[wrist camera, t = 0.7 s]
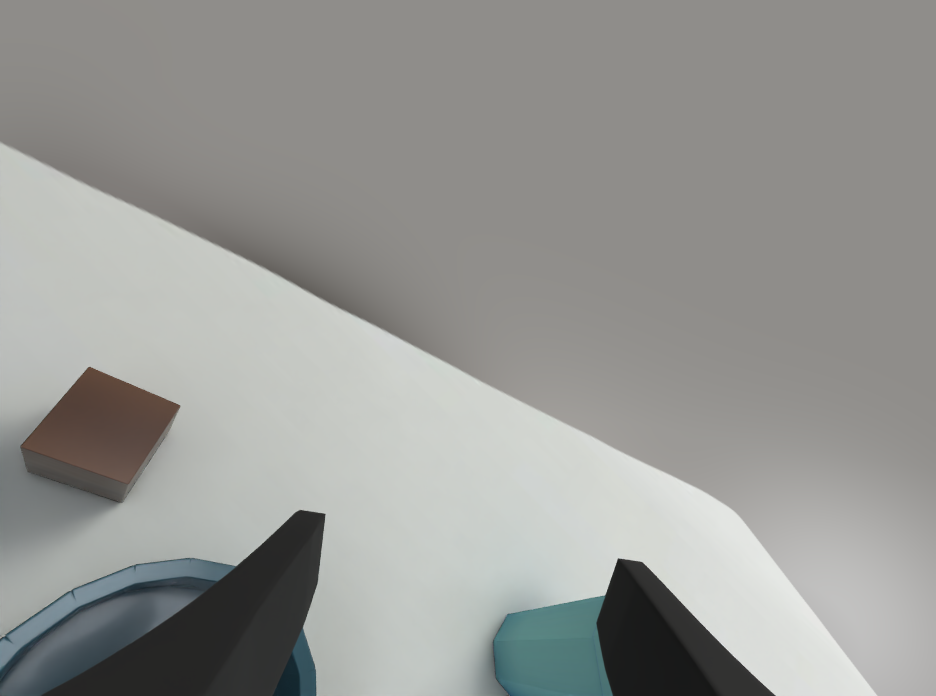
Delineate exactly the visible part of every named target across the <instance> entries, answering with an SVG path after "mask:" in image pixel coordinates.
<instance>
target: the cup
mask: <svg viewBox="0 0 936 696" xmlns="http://www.w3.org/2000/svg"><path fill="white" fill-rule="evenodd" d="M605 596H606V595H605ZM605 596H600V597H595V598H589V599H584V600H579V601H574V602H569V603H564V604H559V605H553V606H548V607H543V608H538V609H533V610H528V611H522V612H517V613H512V614H508V615H507V616H506V618H505V620H504V622H503V624H502V626H501V628H500V629H499V631H498V633H497V635H496V637H495V639H494V641H493V644H494V658H495V671H496V679H497V680H498V682H499V683H500V684H501V685H502V686H503V688H504V689H505V690H506V691H507V693H508V694H509V695H510V696H613V694H612V691H611V688H610V685H609V681H608V678H607V675H606V671H605V667H604V662H603V657H602V653H601V648H600V642H599V636H598V630H597V625H596V622H597V619H598V616H599V613H600V610H601V607H602V604H603V601H604V598H605Z"/></svg>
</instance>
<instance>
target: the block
mask: <svg viewBox="0 0 936 696" xmlns="http://www.w3.org/2000/svg"><path fill="white" fill-rule="evenodd" d="M179 408H180V405H178V404H176V403H173V402H171V401H169V400H166V399H164V398H162V397H159V396H157V395H155V394H152V393H150V392H147V391H145V390H143V389H140V388H138V387H136V386H133V385H131V384H129V383H126V382H124V381H122V380H119V379H117V378H115V377H112V376H110V375H107V374H105V373H103V372H100V371H98V370H96V369H93V368H91V367H88V368H87V370H86V371H85V372H84V373H83V374H82V375H81V376H80V378H79V379H78V380H77V381H76V382H75V383H74V385H73V386H72V387H71V388H70V389H69V390H68V392H67V393H66V394H65V395H64V396H63V397H62V399H61V400H60V401H59V402H58V403H57V404H56V406H55V407H54V408H53V409H52V410H51V411H50V413H49V414H48V415H47V416H46V417H45V418H44V420H43V421H42V422H41V423H40V424H39V425H38V427H37V428H36V429H35V430H34V431H33V432H32V434H31V435H30V436H29V437H28V438H27V439H26V441H25V442H24V443H23V444H22V445H21V451H22V454H23V457H24V461H25V464H26V467H27V471H28V472H31V473H34V474H37V475H40V476H43V477H46V478H49V479H52V480H55V481H58V482H61V483H64V484H67V485H70V486H73V487H76V488H79V489H82V490H85V491H88V492H91V493H94V494H97V495H100V496H103V497H106V498H109V499H112V500H115V501H118V502H121V503H122V502H123V501H124V499H125V498H126V496H127V495H128V493H129V491H130V490H131V488H132V487H133V485H134V484H135V482H136V481H137V479H138V478H139V476H140V475H141V473H142V472H143V470H144V469H145V467H146V465H147V464H148V462H149V461H150V459H151V458H152V456H153V455H154V453H155V452H156V450H157V449H158V447H159V446H160V444H161V442H162V441H163V439H164V438H165V436H166V435H167V433H168V432H169V430H170V428H171V426H172V423H173V421H174V419H175V417H176V415H177V413H178V410H179Z"/></svg>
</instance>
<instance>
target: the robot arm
mask: <svg viewBox="0 0 936 696" xmlns="http://www.w3.org/2000/svg"><path fill="white" fill-rule="evenodd" d="M324 522H325V514H323V513H316V512H310V511H303V510H299V511H297V512H296V513H294V514H293V515H292V516H291V517H290V518H289V519H288V520H287V521H286V522H285V523H284V524H283V525H282V526H281V527H280V528H279V529H278V530H277V531H276V532H275V533H274V534H273V535H271V536H270V537H269V538H268V539H267V540H266V541H265V542H264V543H263V544H262V545H261V546H259V547H258V548H257V549H256V550H255V551H254V552H253V553H251V554H250V555H249V556H248V557H247V558H246V559H244V560H243V561H242V562H241V563H240V564H239V565H237V566H236V567H235V568H234V569H233V570H232V571H230V572H229V573H228V574H227V575H225V576H224V577H223V578H222V579H220V580H219V581H218V582H217V583H215V584H214V585H213V586H211V587H210V588H209V589H208V590H206V591H205V592H204V593H202V594H201V595H200V596H199V597H197V598H196V599H195V600H193V601H192V602H191V603H189V604H188V605H187V606H185V607H184V608H182V609H181V610H180V611H178V612H177V613H176V614H174V615H173V616H171V617H170V618H168V619H167V620H165V621H164V622H163V623H161V624H160V625H158V626H157V627H155V628H154V629H152V630H151V631H149V632H148V633H146V634H145V635H143V636H142V637H140V638H138V639H137V640H135V641H134V642H132V643H130V644H129V645H127V646H126V647H124V648H122V649H121V650H119V651H118V652H116V653H114V654H113V655H111V656H110V657H108V658H106V659H105V660H103V661H101V662H100V663H98V664H96V665H95V666H93V667H91V668H90V669H88V670H86V671H84V672H83V673H81V674H79V675H77V676H76V677H74V678H72V679H70V680H68V681H66V682H65V683H63V684H61V685H59V686H57V687H55V688H53V689H52V690H50V691H48V692H46V693H44V694H42V695H40V696H273V693H274V691H275V689H276V687H277V684H278V682H279V680H280V678H281V675H282V673H283V671H284V669H285V667H286V664H287V662H288V660H289V658H290V655H291V653H292V651H293V649H294V646H295V644H296V642H297V640H298V637H299V635H300V633H301V630H302V628H303V625H304V622H305V620H306V617H307V614H308V611H309V608H310V605H311V602H312V598H313V595H314V592H315V589H316V586H317V583H318V574H319V566H320V557H321V548H322V540H323V531H324ZM596 625H597V630H598V636H599V642H600V648H601V653H602V657H603V662H604V667H605V671H606V675H607V678H608V681H609V685H610V688H611V691H612V694H613V696H775V695H774V694H773V693H772V692H771V691H770V690H769V689H767V688H766V687H765V686H764V685H763V684H762V683H761V682H760V681H759V680H758V679H757V678H756V677H755V676H753V675H752V674H751V673H750V672H749V671H748V670H747V669H746V668H745V667H744V666H743V665H742V664H741V663H740V662H739V661H738V660H737V659H736V658H735V657H734V656H733V655H732V654H731V653H730V652H729V651H728V650H727V649H726V648H725V647H724V646H723V645H722V644H721V643H720V642H719V641H718V640H717V639H716V638H715V637H714V636H713V635H712V634H711V633H710V632H709V631H708V630H707V629H706V628H705V627H704V626H703V625H702V624H701V623H700V622H699V621H698V620H697V619H696V618H695V617H694V616H693V615H692V614H691V612H690V611H689V610H688V609H687V608H686V607H685V606H684V605H683V604H682V603H681V602H680V601H679V600H678V599H677V598H676V597H675V595H674V594H673V593H672V592H671V591H670V590H669V589H668V588H667V587H666V586H665V585H664V584H663V583H662V582H661V581H660V580H659V579H658V578H657V576H656V575H655V574H654V573H653V572H652V571H651V570H650V569H649V568H648V567H647V566H646V565H645V564H643V563H642V562H638V561H632V560H625V559H619V558H618V560H617V563H616V566H615V569H614V572H613V575H612V578H611V581H610V584H609V587H608V590H607V593H606V596H605V598H604V601H603V604H602V607H601V610H600V613H599V616H598V619H597V622H596Z"/></svg>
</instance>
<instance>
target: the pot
mask: <svg viewBox="0 0 936 696" xmlns="http://www.w3.org/2000/svg"><path fill="white" fill-rule="evenodd" d="M235 567H236V566H232V565H227V564H221V563H216V562H211V561H205V560H200V559H195V558H191V559H190V558H185V559H177V560H168V561H160V562H152V563H144V564H136V565H135V566H130V567H127V568H125V569H122V570H120V571H117V572H115V573H112V574H110V575H107V576H105V577H102V578H100V579H97V580H95V581H92V582H90V583H87V584H85V585H82V586H80V587H77V588H75V589H73V590H72V591H69V592H67V593H66V594H64V595H63V596H61V597H60V598H58V599H57V600H55V601H54V602H53V603H51V604H50V605H48V606H47V607H45V608H44V609H42V610H41V611H39V612H38V613H37V614H35V615H34V616H32V617H31V618H29V619H28V620H26V621H25V622H23V623H22V624H20V625H19V626H18V627H16V628H15V629H13V630H12V631H10V632H9V633H7V634H6V635H5V637H3V638H1V639H0V696H40V695H42V694H44V693H46V692H48V691H50V690H52V689H53V688H55V687H57V686H59V685H61V684H63V683H65V682H66V681H68V680H70V679H72V678H74V677H76V676H77V675H79V674H81V673H83V672H84V671H86V670H88V669H90V668H91V667H93V666H95V665H96V664H98V663H100V662H101V661H103V660H105V659H106V658H108V657H110V656H111V655H113V654H114V653H116V652H118V651H119V650H121V649H122V648H124V647H126V646H127V645H129V644H130V643H132V642H134V641H135V640H137V639H138V638H140V637H142V636H143V635H145V634H146V633H148V632H149V631H151V630H152V629H154V628H155V627H157V626H158V625H160V624H161V623H163V622H164V621H165V620H167V619H168V618H170V617H171V616H173V615H174V614H176V613H177V612H178V611H180V610H181V609H182V608H184V607H185V606H187V605H188V604H189V603H191V602H192V601H193V600H195V599H196V598H197V597H199V596H200V595H201V594H202V593H204V592H205V591H206V590H208V589H209V588H210V587H211V586H213V585H214V584H215V583H217V582H218V581H219V580H220V579H222V578H223V577H224V576H225V575H227V574H228V573H229V572H230V571H232V570H233V569H234V568H235ZM273 696H316V670H315V665H314V662H313V659H312V655H311V652H310V649H309V646H308V643H307V640H306V637H305V634H304V630H303V628H302V630H301V633H300V635H299V637H298V640H297V642H296V644H295V646H294V649H293V651H292V653H291V655H290V658H289V660H288V662H287V664H286V667H285V669H284V671H283V673H282V675H281V678H280V680H279V682H278V684H277V687H276V689H275V691H274V693H273Z"/></svg>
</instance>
